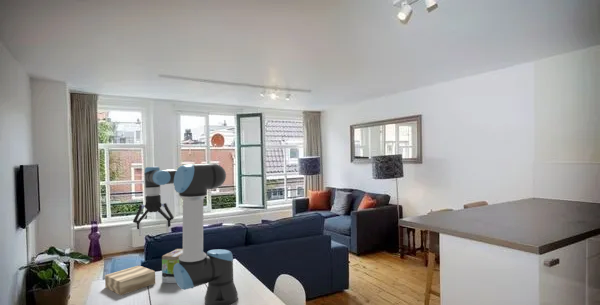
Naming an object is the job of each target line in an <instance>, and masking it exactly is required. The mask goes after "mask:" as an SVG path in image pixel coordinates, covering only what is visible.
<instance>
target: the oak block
mask: <svg viewBox="0 0 600 305" xmlns="http://www.w3.org/2000/svg"><path fill="white" fill-rule="evenodd" d="M104 281H105V282H104V284H105V286H104V287H105V289H107V290H109V291H112V293H113V292H114V293H115V294H117V295H119V296H123V295H126V294H129V293H131V292H134V291H137V290H140V289H143V288H145V287H148V286H152V285H156V271H155V270H153V269H152V268H151V269H150V268H147V267H144V266H141V265H136V266H131V267H129V268H124V269H122V270H118V271H115V272H110V273H108V274H105V275H104Z"/></svg>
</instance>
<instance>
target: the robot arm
mask: <svg viewBox="0 0 600 305" xmlns="http://www.w3.org/2000/svg"><path fill="white" fill-rule="evenodd" d="M226 178H227V174H226V171H225V169H224V168H223V166H221V165H219V164H217V163H198V164H197V163H195V164H193V163H188V164H182V165H181V166H179V167H177V169H160V166H147V167H144V184H145V185H144V190H145V192H144V194H145V198H144V199H145V204H139V207H138V210H137V213H136V214H135V216H134V218H133V220H132V223H135V224H136V230H138V232H139V233H138V234H139V236H142V235H143V225H142V224H143V223H142V221H143V219H144V218H145V217H146V216H147V214H148V213H157V212H158V213H159V214H160V215H161V216H162V217H164V219H165V228H166V230H165V231H166V234H169V232H170V231H169V230H170V228H169V227H171V221H172V220H174V219H175V216H174V215H173V213H172V212H171V210H170V208H169V206H168V203H167V202H164V203H162V200H161V198H162V196H161V195H160V194H161V186H164V185H172V184H173V186H174V187H173V188H174V190H175V192H176V193H178V196H179V197H180V198H181V199H182V249H183V253H182V254H181V255H180V256H179V263H176V264H175V265H174V268H173V272H174V277H175V280H176V282H177V283H176V284H177V286H178V287H179V288H180V289H181V290H185V291H186V290H189V289H194V288H197V287H199V286H202V285H205V284H208V285H207V289H206V292H205V296H204V304H205V305H229V304H230V305H232V304H234V303H236V301H237V300H238V299H239V293H238V290H237V288H236V284H235V281H234V257H233V253H232V251H230V250H228V249H223V248H222V249H221V248H220V249H219V248H218V249H210V250H208V251H207V252H204V199H205V197H207V195H208V190H214V189H217V188H220V187H221V186H222V185H224V183H225V181H226ZM144 208H145V209H146V210H145V211H144V212H143V214H142V215H141V216H140V214H141V213H142V211H143V209H144ZM162 208H164V210H165V211H166V213H165V211H164V210H163V209H162Z"/></svg>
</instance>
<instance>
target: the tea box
mask: <svg viewBox="0 0 600 305" xmlns="http://www.w3.org/2000/svg"><path fill="white" fill-rule="evenodd" d="M182 253H183V248H175V249H174V250H172V251H170V252H167V253H165V254H163V255H162V256H161V283H163V284H177V282H176V280H175V277H174V272H173V268H174V265H175V264H176V263H179V256H180V255H181V254H182Z"/></svg>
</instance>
